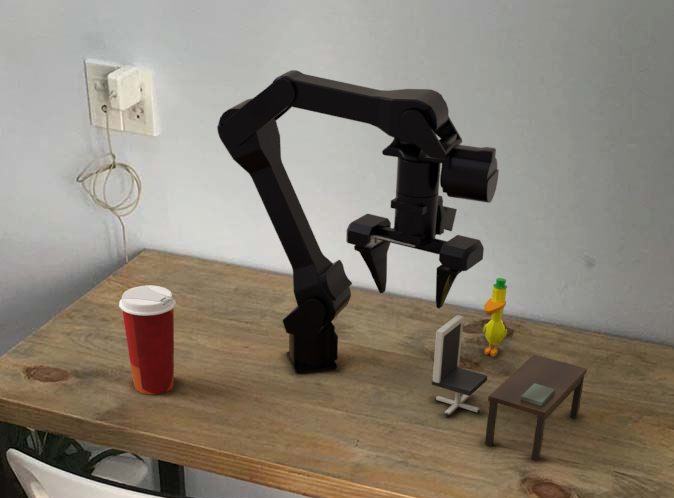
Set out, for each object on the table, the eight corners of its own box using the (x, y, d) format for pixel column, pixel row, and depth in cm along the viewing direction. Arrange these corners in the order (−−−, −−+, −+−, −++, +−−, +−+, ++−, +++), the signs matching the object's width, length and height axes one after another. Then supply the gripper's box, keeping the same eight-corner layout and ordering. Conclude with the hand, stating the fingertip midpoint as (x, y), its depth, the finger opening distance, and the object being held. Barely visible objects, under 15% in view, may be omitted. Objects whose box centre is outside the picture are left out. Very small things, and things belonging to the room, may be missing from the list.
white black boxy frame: (423, 410, 158) (428, 330, 151) (446, 390, 164) (452, 312, 157) (468, 424, 155) (476, 343, 149) (490, 403, 161) (499, 324, 154)
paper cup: (191, 380, 163) (186, 290, 155) (161, 402, 157) (154, 310, 149) (146, 368, 166) (138, 279, 158) (115, 390, 160) (106, 298, 152)
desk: (483, 445, 151) (488, 391, 146) (527, 400, 162) (534, 349, 157) (537, 462, 148) (545, 408, 143) (579, 415, 159) (587, 364, 154)
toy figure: (492, 364, 171) (500, 291, 164) (470, 358, 173) (478, 285, 166) (509, 348, 176) (518, 276, 169) (488, 342, 177) (496, 271, 171)
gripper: (506, 189, 152) (494, 296, 160) (386, 163, 159) (381, 267, 168) (469, 211, 144) (460, 323, 152) (345, 183, 151) (342, 291, 160)
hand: (410, 299), depth 158 cm, fingers open, 9 cm apart
